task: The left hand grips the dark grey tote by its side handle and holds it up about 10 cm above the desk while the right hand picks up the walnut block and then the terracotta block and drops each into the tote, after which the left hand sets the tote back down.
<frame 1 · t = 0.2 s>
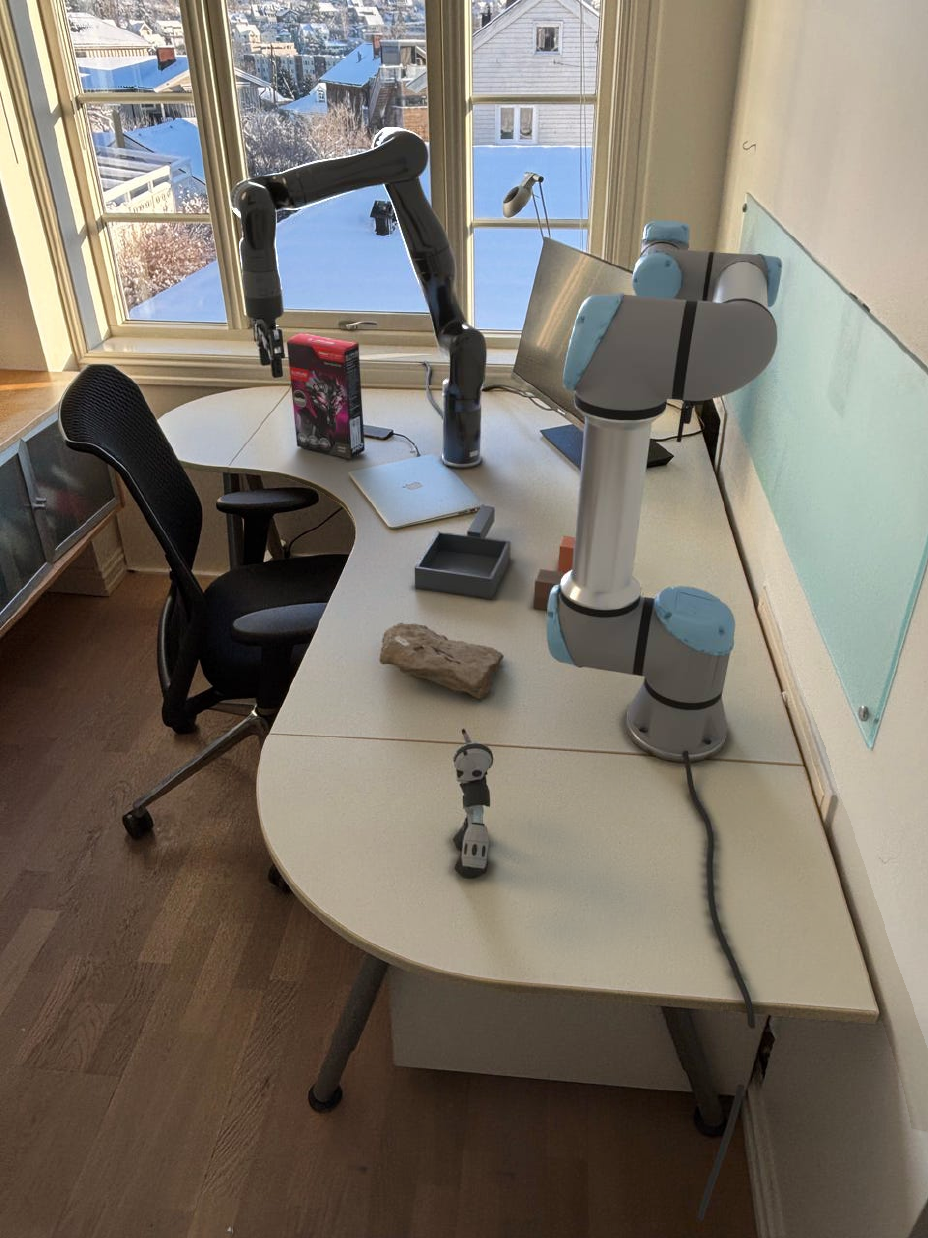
left hand: (271, 370, 193), 29 cm above the table, fingers open, 8 cm apart
right hand: (641, 435, 170), 28 cm above the table, fingers open, 13 cm apart
robot: (471, 854, 122), on the table
tote: (463, 574, 182), on the table
stone: (436, 672, 155), on the table
graphics card box: (330, 449, 231), on the table
walnut block: (547, 603, 173), on the table
terracotta block: (570, 568, 184), on the table
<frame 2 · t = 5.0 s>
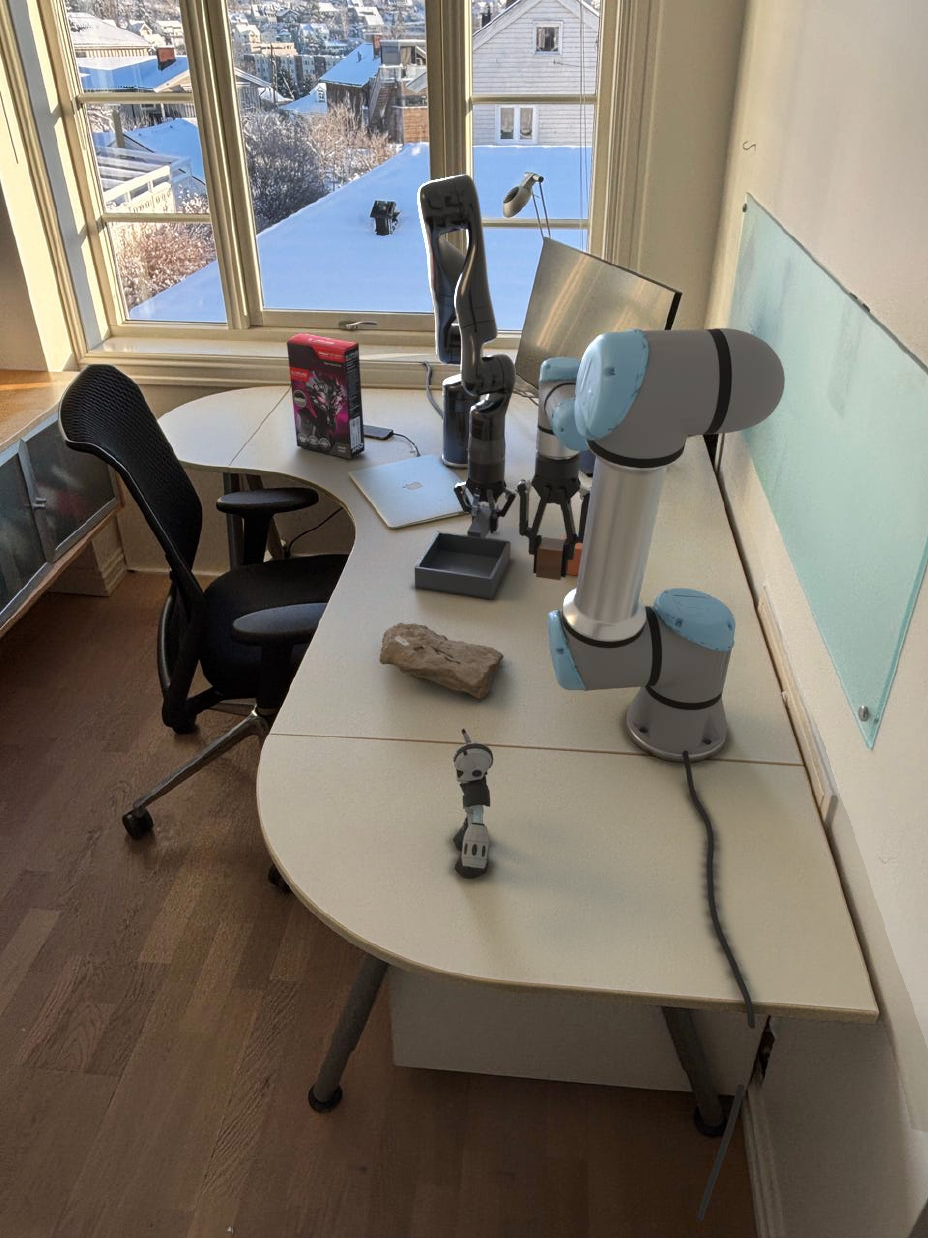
left hand: (484, 530, 195), 1 cm above the table, fingers closed on tote, 2 cm apart
right hand: (550, 571, 168), 7 cm above the table, fingers closed on walnut block, 4 cm apart
tote: (463, 574, 182), on the table, touching left hand
walnut block: (550, 572, 169), point 7 cm above the table, touching right hand
everything else where it was.
when the right hand's fingers open (17 cm above the table, at t = 8.4 s): walnut block drops 6 cm, resting on tote.
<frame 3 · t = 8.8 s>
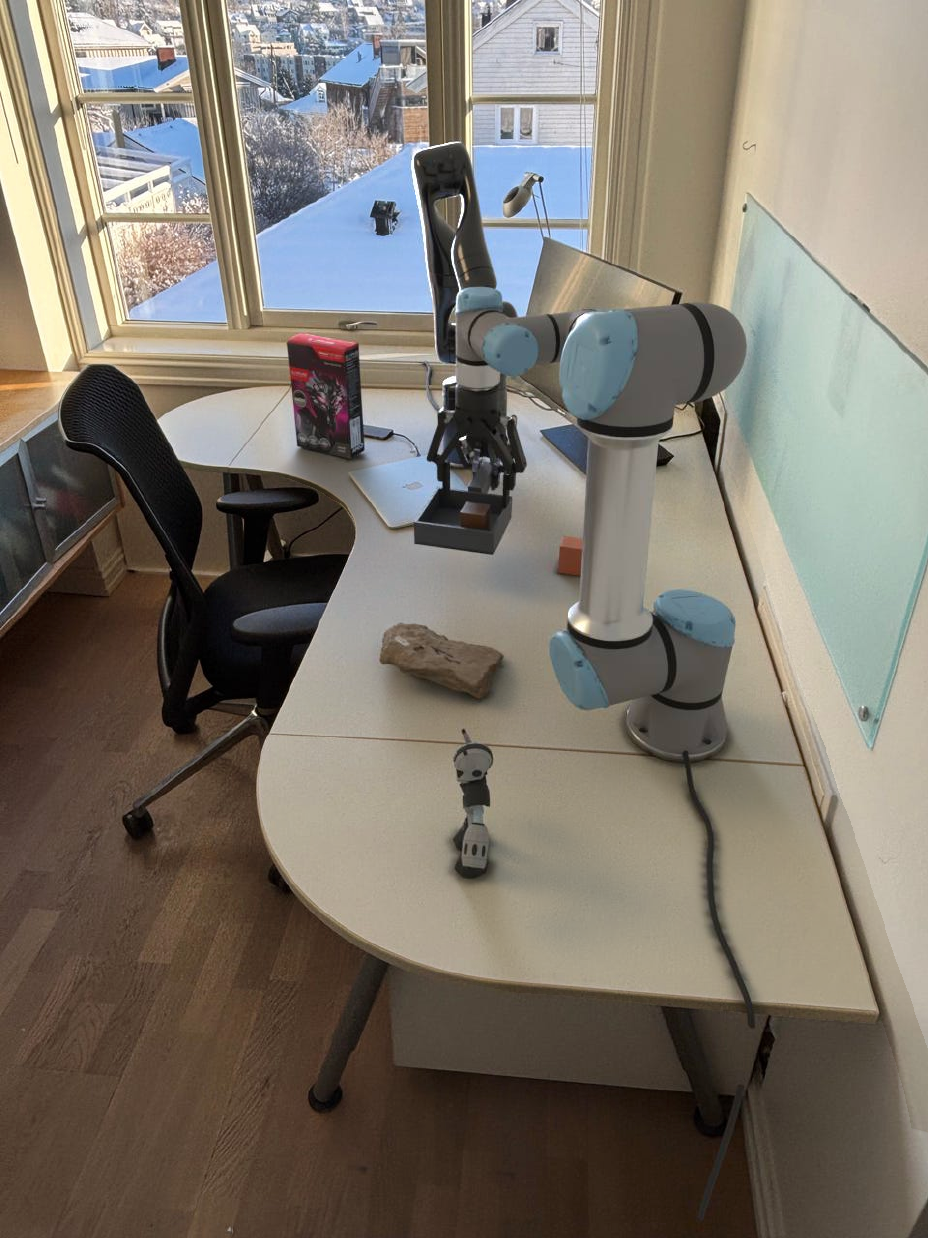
left hand: (485, 487, 189), 11 cm above the table, fingers closed on tote, 2 cm apart
right hand: (475, 501, 169), 18 cm above the table, fingers open, 10 cm apart
tote: (464, 530, 176), point 10 cm above the table, touching left hand, walnut block
walnut block: (475, 536, 173), point 10 cm above the table, touching tote
everything else where it was.
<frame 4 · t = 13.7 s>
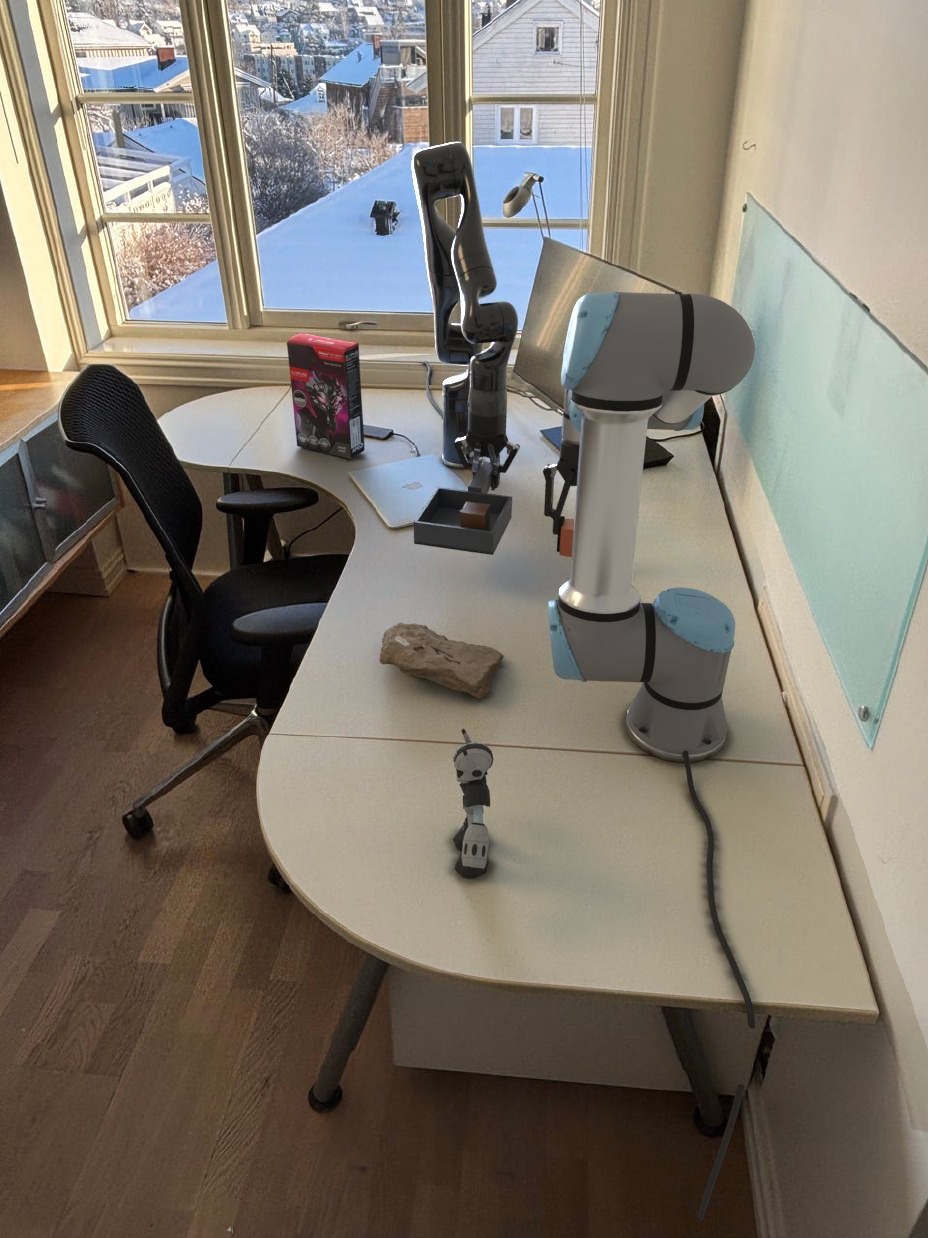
left hand: (485, 487, 189), 11 cm above the table, fingers closed on tote, 2 cm apart
right hand: (572, 550, 181), 4 cm above the table, fingers closed on terracotta block, 4 cm apart
tote: (464, 530, 176), point 10 cm above the table, touching left hand, walnut block
terracotta block: (572, 551, 181), point 4 cm above the table, touching right hand
everything else where it was.
when the right hand's fingers open (17 cm above the table, at t = 17.1 s): terracotta block drops 6 cm, resting on tote.
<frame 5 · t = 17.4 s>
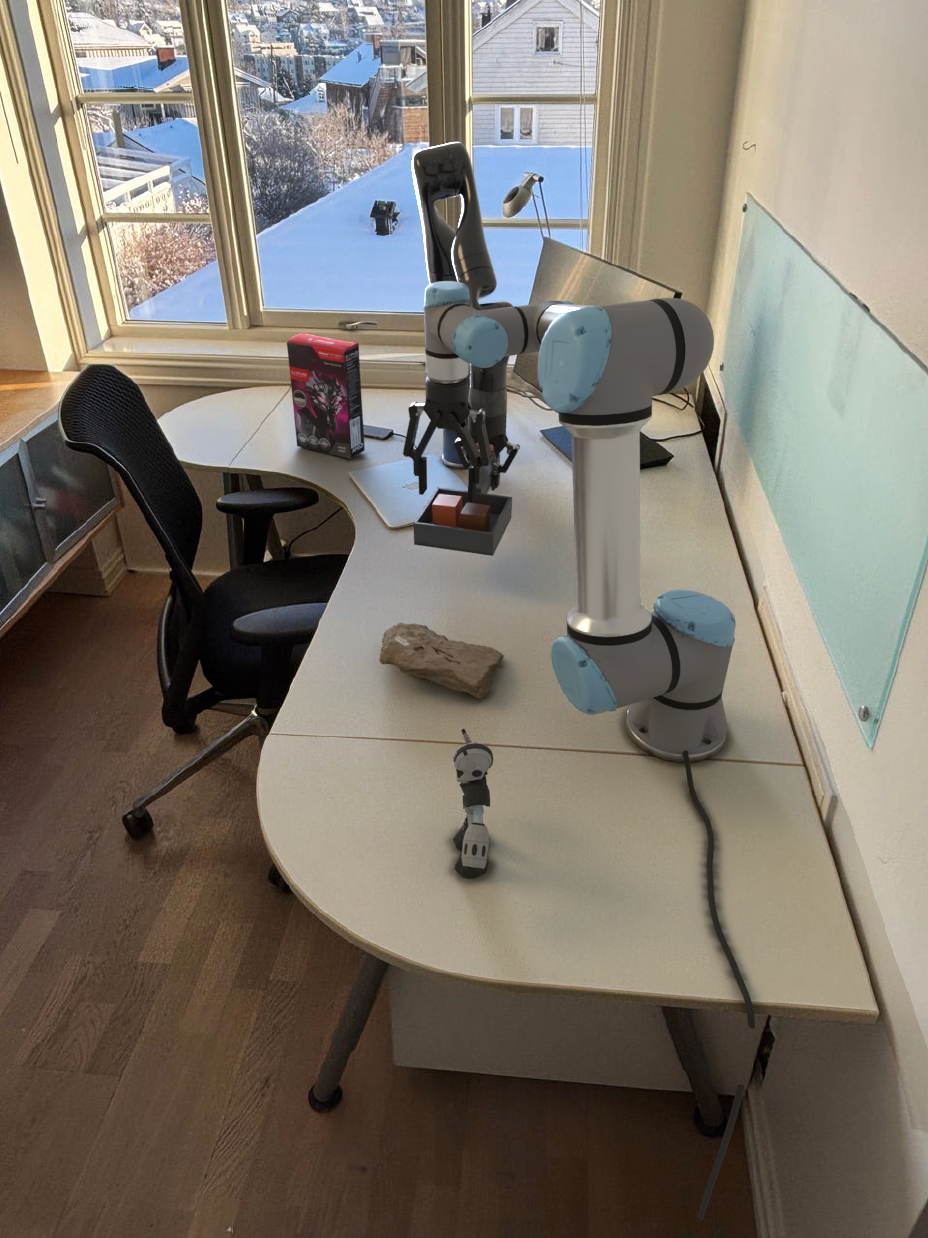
left hand: (485, 487, 189), 11 cm above the table, fingers closed on tote, 2 cm apart
right hand: (447, 494, 172), 17 cm above the table, fingers open, 9 cm apart
tote: (463, 530, 176), point 10 cm above the table, touching left hand, terracotta block, walnut block
terracotta block: (448, 528, 176), point 10 cm above the table, touching tote
everything else where it was.
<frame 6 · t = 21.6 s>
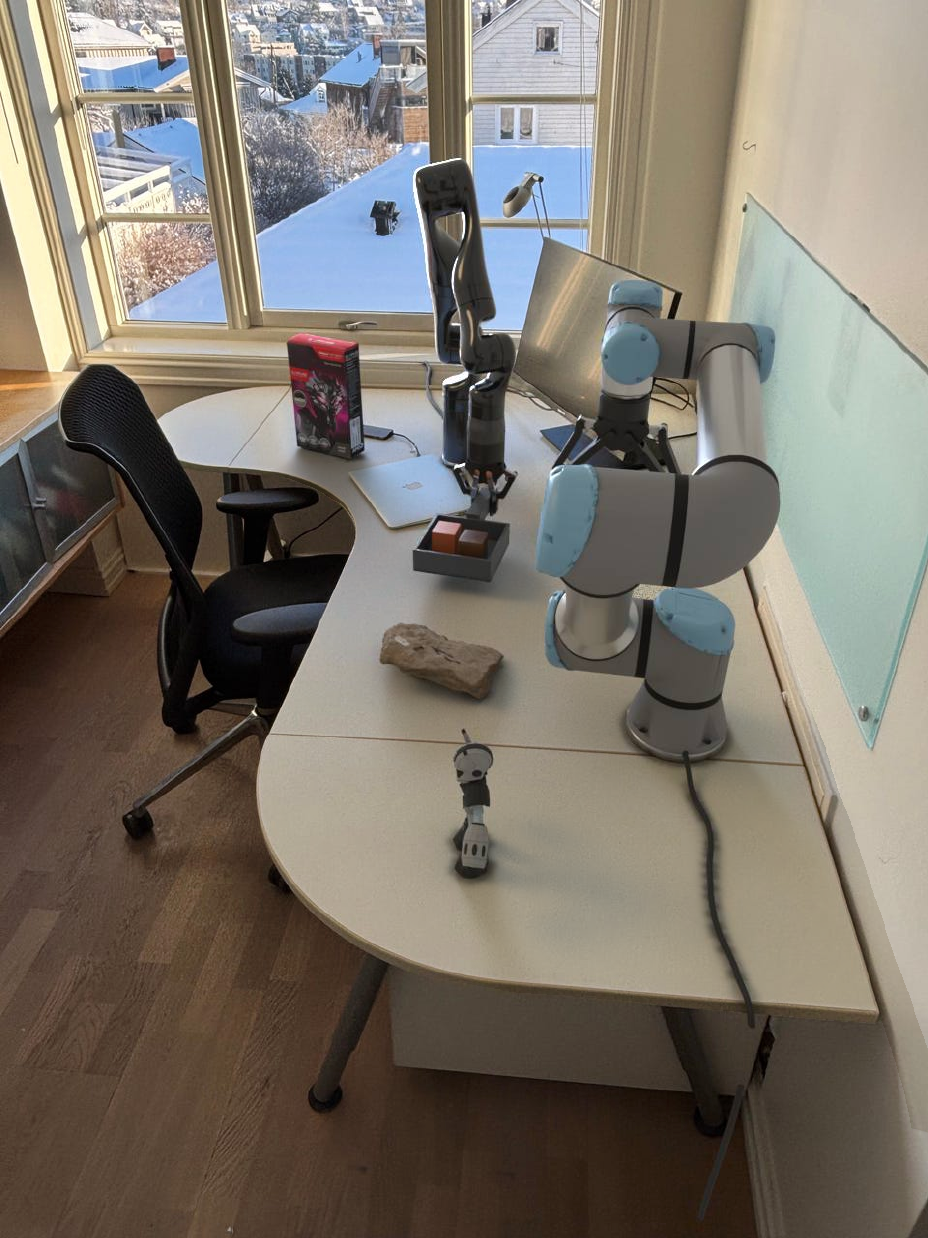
left hand: (484, 513, 192), 5 cm above the table, fingers closed on tote, 2 cm apart
right hand: (611, 518, 149), 25 cm above the table, fingers open, 13 cm apart
tote: (462, 556, 179), point 4 cm above the table, touching left hand, terracotta block, walnut block
walnut block: (473, 563, 176), point 4 cm above the table, touching tote
terracotta block: (447, 554, 179), point 5 cm above the table, touching tote
everything else where it was.
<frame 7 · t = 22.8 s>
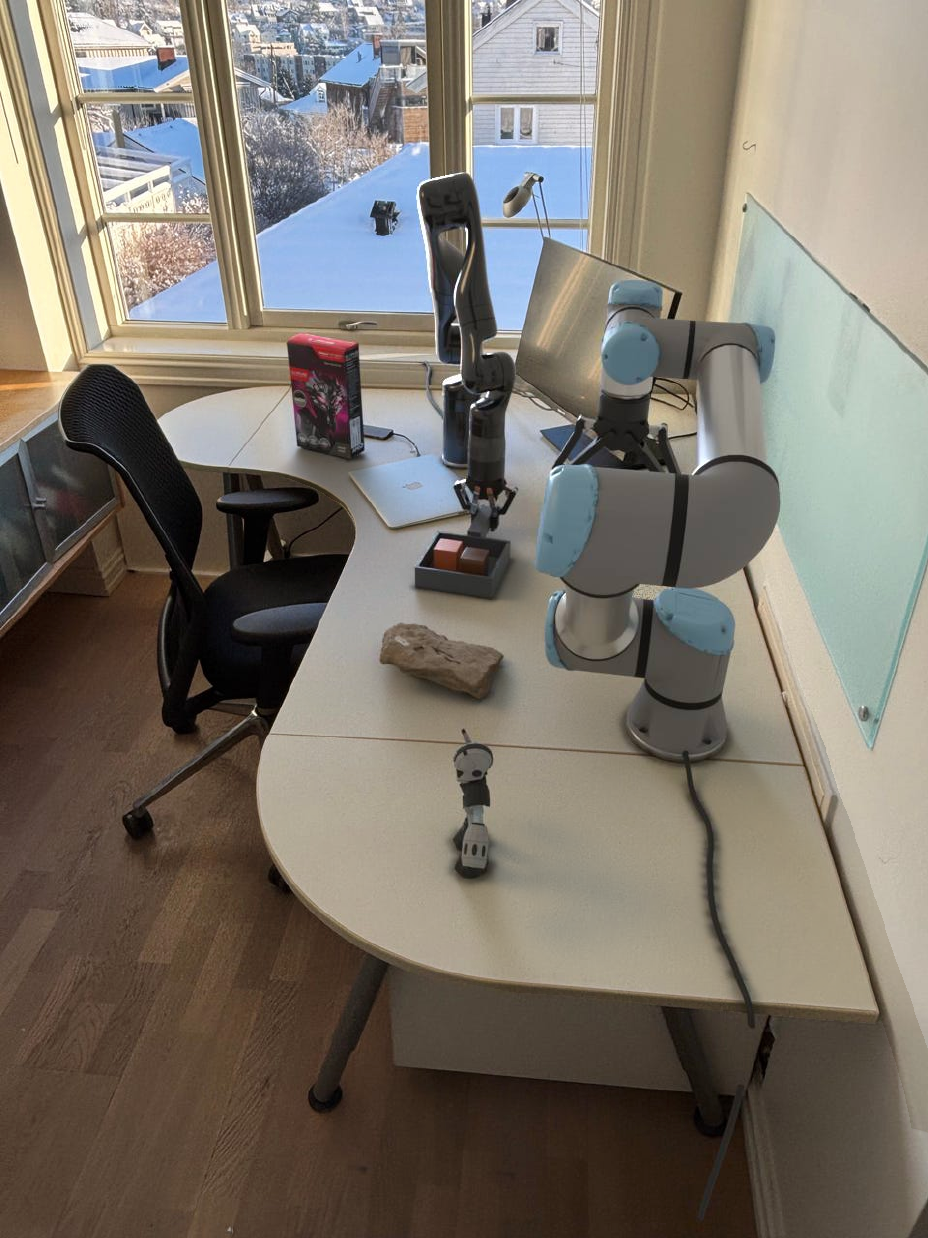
left hand: (484, 528, 195), 1 cm above the table, fingers open, 3 cm apart
right hand: (611, 518, 149), 25 cm above the table, fingers open, 13 cm apart
tote: (463, 573, 182), on the table, touching terracotta block, walnut block
walnut block: (474, 580, 178), point 1 cm above the table, touching tote
terracotta block: (448, 571, 181), point 1 cm above the table, touching tote
everything else where it was.
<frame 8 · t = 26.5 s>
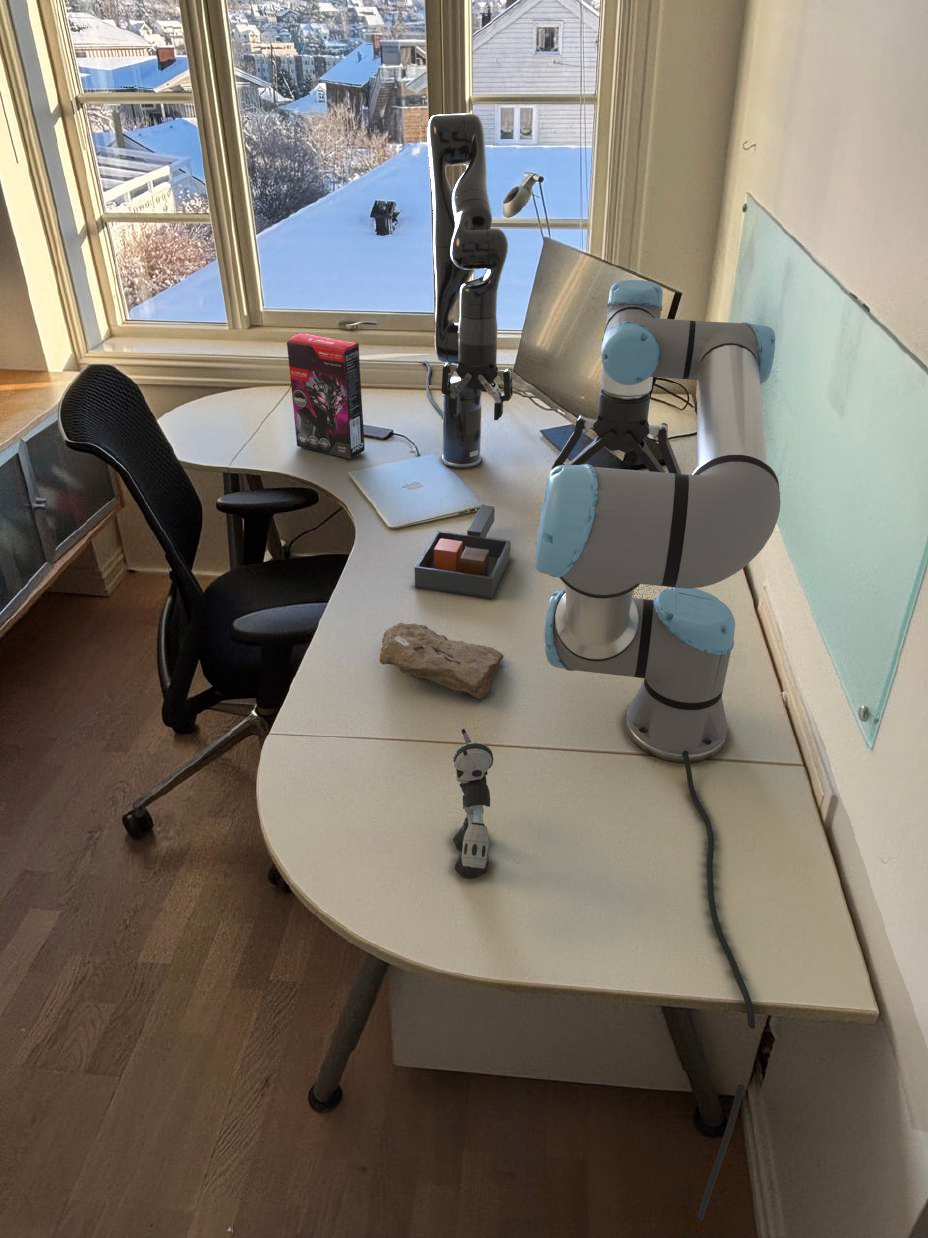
left hand: (476, 416, 189), 23 cm above the table, fingers open, 8 cm apart
right hand: (611, 518, 149), 25 cm above the table, fingers open, 13 cm apart
nothing on the table moved.
at the end: walnut block inside the target area on the tote (4.2 cm from its centre), point 0.6 cm above the tote's base; terracotta block inside the target area on the tote (3.0 cm from its centre), point 0.6 cm above the tote's base; the left hand is holding nothing; the right hand is holding nothing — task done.
